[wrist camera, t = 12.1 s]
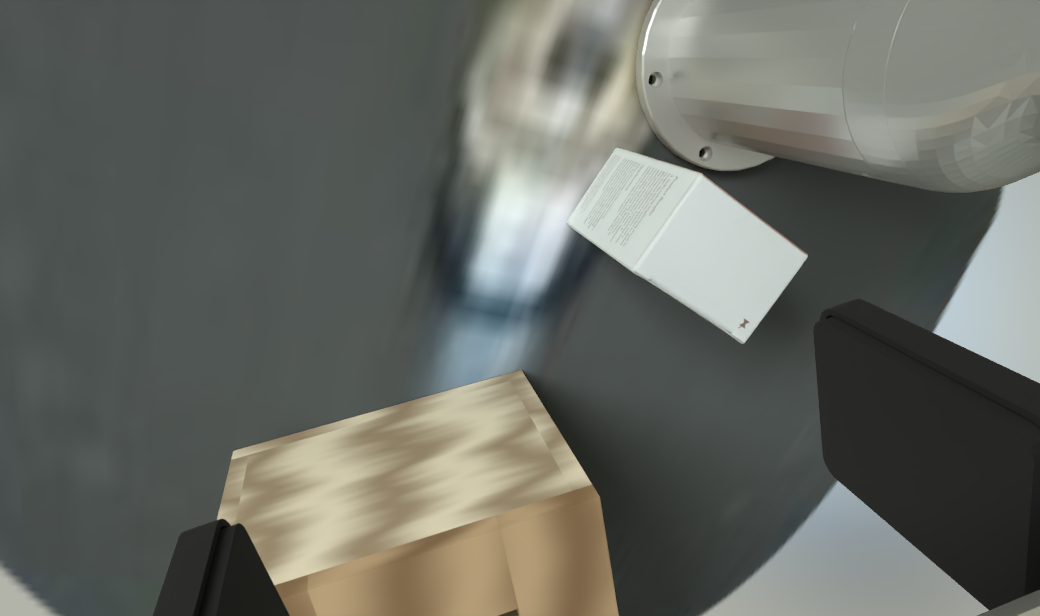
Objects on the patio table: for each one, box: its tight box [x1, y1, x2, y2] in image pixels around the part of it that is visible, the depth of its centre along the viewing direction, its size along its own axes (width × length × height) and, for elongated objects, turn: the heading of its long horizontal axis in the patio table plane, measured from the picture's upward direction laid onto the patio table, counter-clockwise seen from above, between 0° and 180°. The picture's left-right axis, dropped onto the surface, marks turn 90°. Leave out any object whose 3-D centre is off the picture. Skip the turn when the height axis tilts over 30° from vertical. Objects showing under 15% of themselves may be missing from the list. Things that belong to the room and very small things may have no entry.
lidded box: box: [217, 370, 619, 616], centre depth 40 cm, size 18×18×14 cm
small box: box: [567, 148, 808, 344], centre depth 38 cm, size 8×6×10 cm
